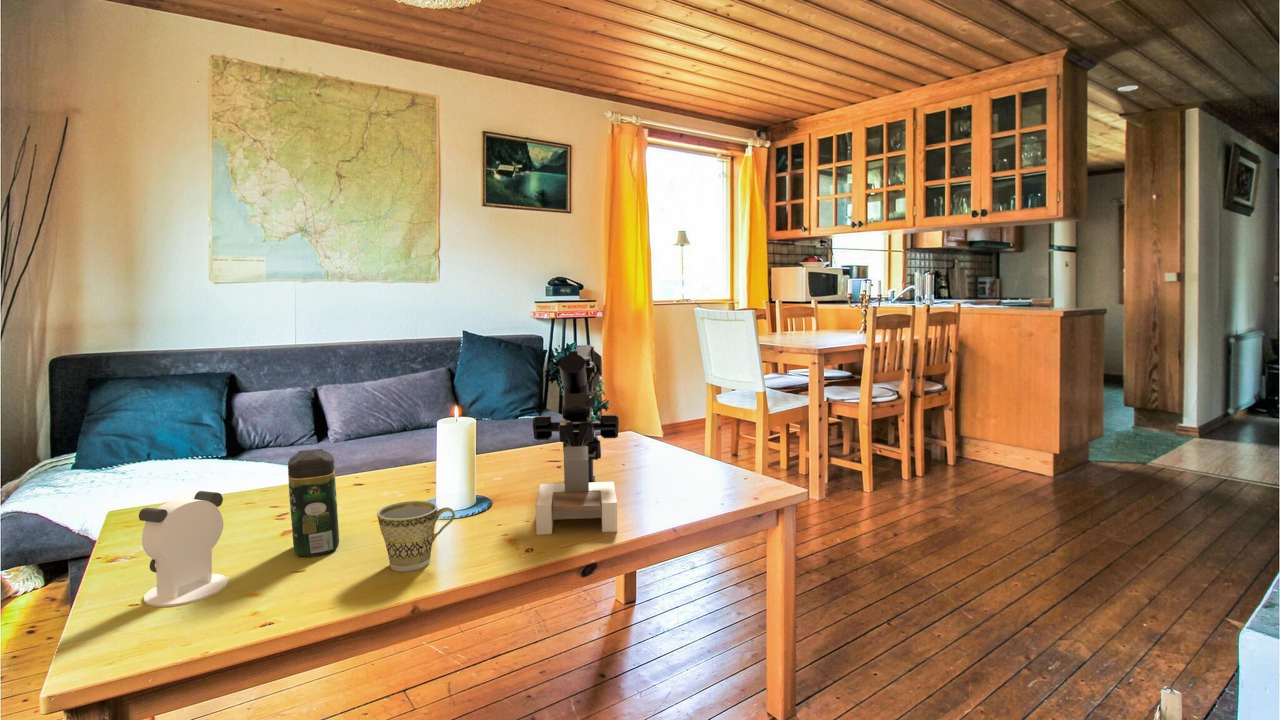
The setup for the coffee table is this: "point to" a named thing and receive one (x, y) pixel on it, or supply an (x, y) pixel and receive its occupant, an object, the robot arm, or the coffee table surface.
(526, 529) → the coffee table surface
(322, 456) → the coffee jar
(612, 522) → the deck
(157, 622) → the coffee table surface
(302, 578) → the coffee table surface
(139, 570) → the coffee table surface
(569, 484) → the stone
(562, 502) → the trapdoor
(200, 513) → the panda figurine
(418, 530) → the ceramic cup
